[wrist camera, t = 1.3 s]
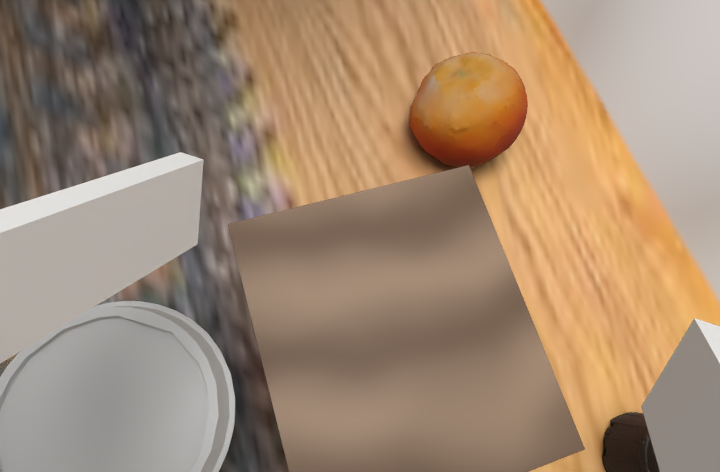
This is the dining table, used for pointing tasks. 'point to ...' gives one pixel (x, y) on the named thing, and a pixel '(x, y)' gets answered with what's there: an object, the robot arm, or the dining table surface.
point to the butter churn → (629, 445)
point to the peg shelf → (399, 335)
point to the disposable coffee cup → (118, 396)
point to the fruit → (469, 109)
